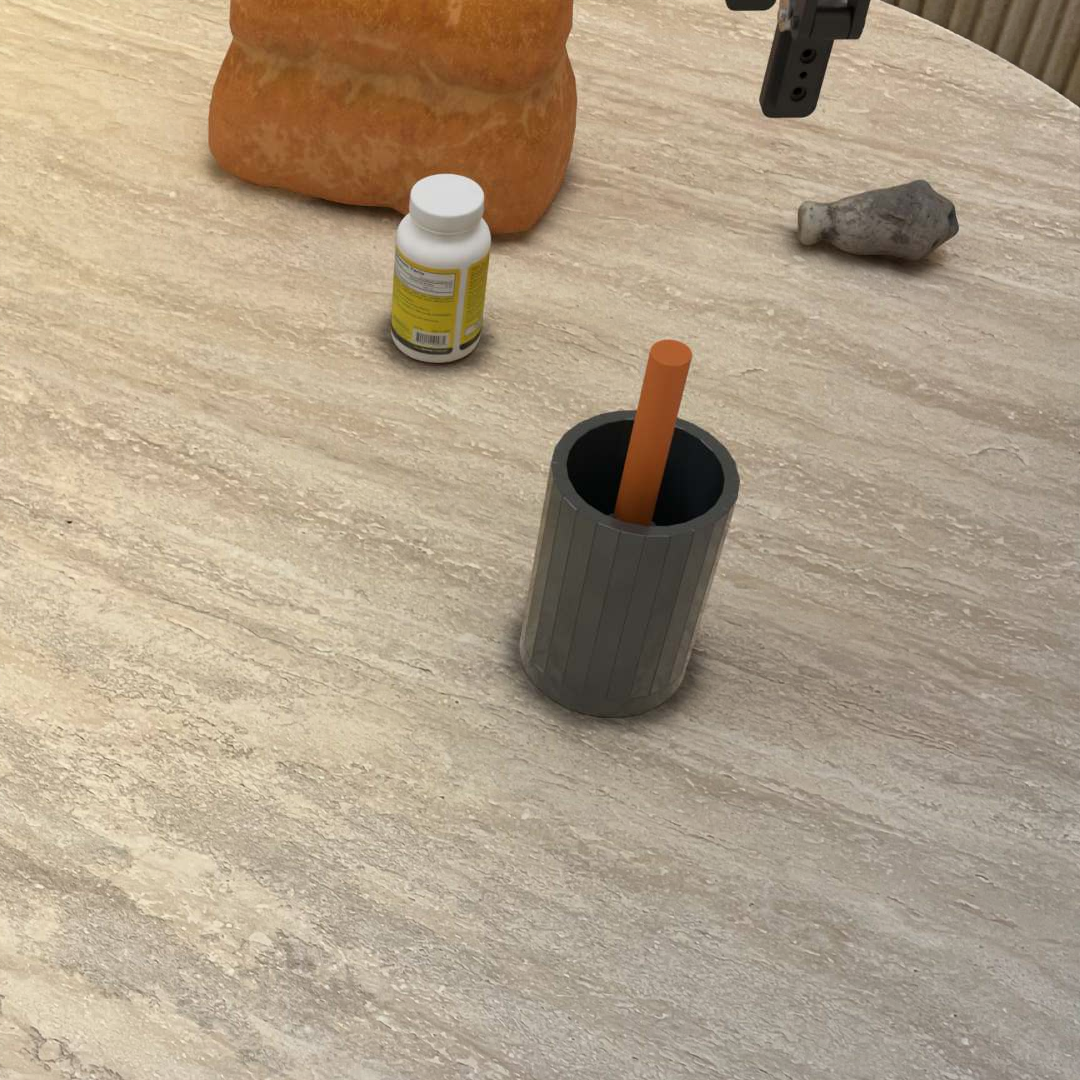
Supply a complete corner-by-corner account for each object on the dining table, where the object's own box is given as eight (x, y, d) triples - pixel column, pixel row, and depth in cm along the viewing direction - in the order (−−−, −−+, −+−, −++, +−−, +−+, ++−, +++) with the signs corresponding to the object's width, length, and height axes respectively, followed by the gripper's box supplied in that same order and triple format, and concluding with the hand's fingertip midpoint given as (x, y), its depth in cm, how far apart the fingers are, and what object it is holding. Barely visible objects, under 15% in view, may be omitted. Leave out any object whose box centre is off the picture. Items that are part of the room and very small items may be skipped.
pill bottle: (455, 301, 118) (470, 157, 109) (495, 353, 115) (514, 209, 106) (374, 322, 117) (383, 178, 108) (412, 375, 113) (425, 231, 104)
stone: (780, 259, 123) (850, 242, 115) (788, 181, 122) (859, 158, 115) (892, 275, 126) (968, 260, 119) (901, 199, 125) (978, 179, 118)
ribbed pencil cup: (672, 594, 101) (723, 409, 90) (697, 717, 95) (754, 536, 84) (512, 594, 101) (542, 409, 90) (527, 717, 95) (562, 536, 84)
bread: (531, 257, 121) (565, 24, 108) (192, 182, 127) (183, -50, 113) (585, 142, 130) (622, -87, 116) (266, 76, 136) (266, -150, 122)
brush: (631, 613, 98) (703, 328, 82) (640, 660, 96) (714, 376, 80) (569, 613, 98) (629, 328, 82) (576, 660, 96) (638, 376, 80)
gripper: (1035, -302, 55) (891, 152, 68) (928, -456, 64) (819, -27, 76) (803, -300, 55) (704, 154, 68) (728, -455, 63) (653, -26, 76)
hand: (765, 57), depth 72 cm, fingers open, 8 cm apart
